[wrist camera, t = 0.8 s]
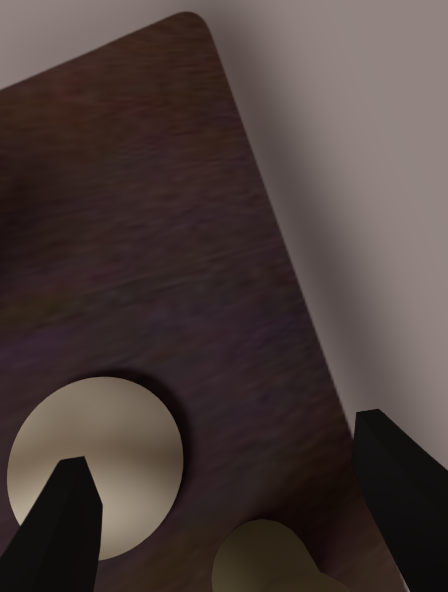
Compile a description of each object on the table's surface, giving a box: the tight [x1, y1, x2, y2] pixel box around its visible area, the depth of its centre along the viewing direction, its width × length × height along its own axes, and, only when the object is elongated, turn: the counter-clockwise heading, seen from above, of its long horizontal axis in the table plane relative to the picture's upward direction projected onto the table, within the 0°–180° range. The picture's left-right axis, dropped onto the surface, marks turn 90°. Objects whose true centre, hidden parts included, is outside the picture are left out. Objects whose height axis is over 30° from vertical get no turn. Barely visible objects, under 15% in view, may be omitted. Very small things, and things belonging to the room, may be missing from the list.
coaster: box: [7, 377, 183, 560], centre depth 25 cm, size 10×10×1 cm
